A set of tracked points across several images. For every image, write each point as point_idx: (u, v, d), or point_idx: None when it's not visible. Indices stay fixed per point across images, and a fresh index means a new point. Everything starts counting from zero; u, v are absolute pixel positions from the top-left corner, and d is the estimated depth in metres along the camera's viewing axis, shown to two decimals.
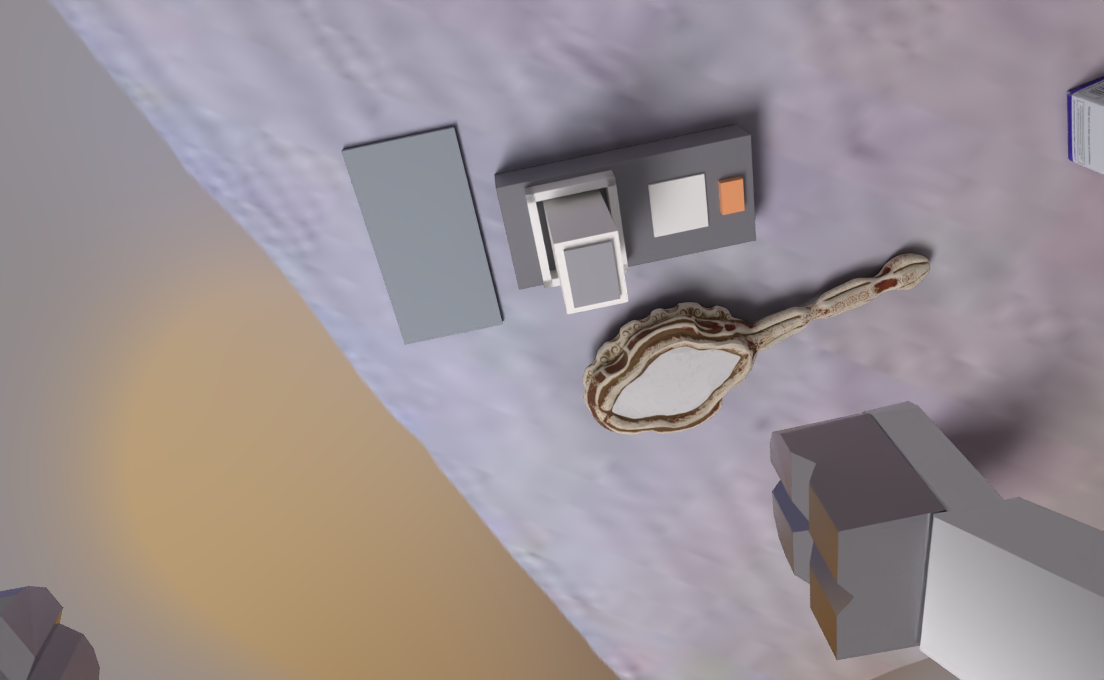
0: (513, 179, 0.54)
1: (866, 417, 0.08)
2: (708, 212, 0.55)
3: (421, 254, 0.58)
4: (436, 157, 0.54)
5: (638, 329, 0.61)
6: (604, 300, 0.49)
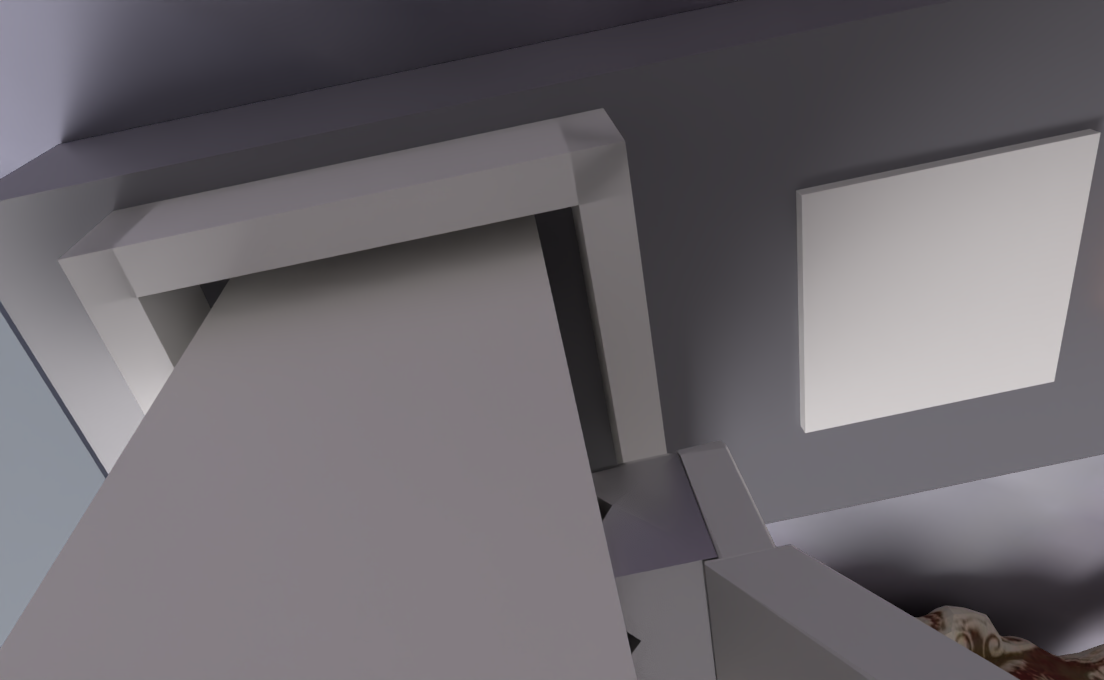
0: (85, 164, 0.10)
1: (672, 456, 0.08)
2: (1062, 323, 0.12)
3: None
4: None
5: None
6: None
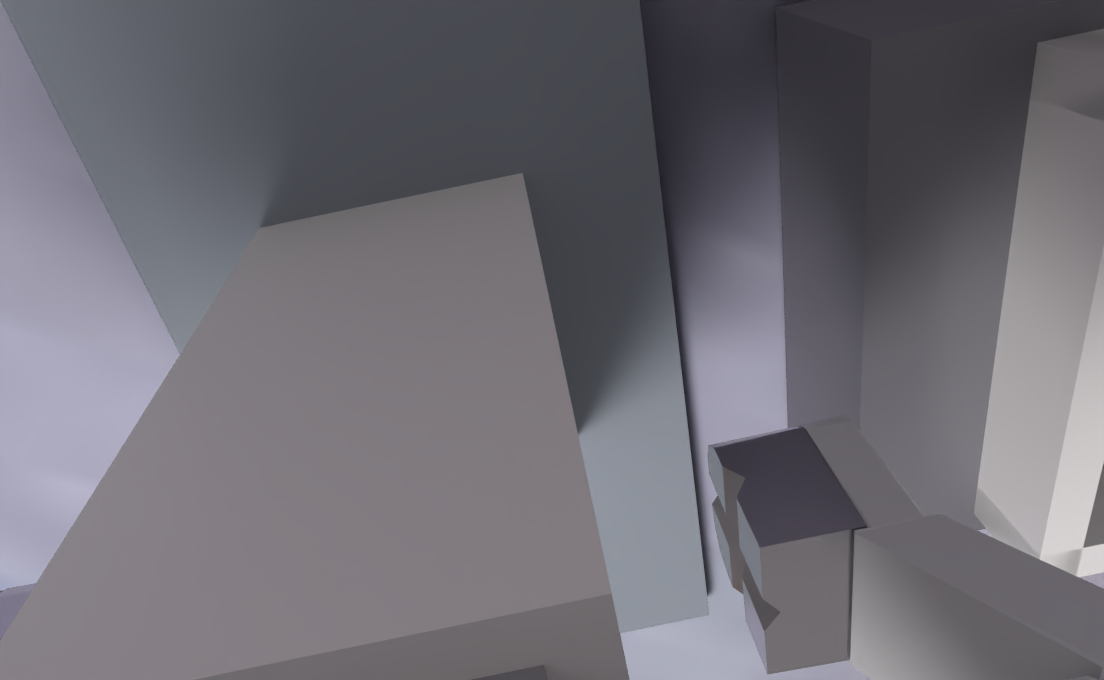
0: (935, 4, 0.09)
1: (798, 430, 0.08)
2: None
3: None
4: None
5: None
6: None
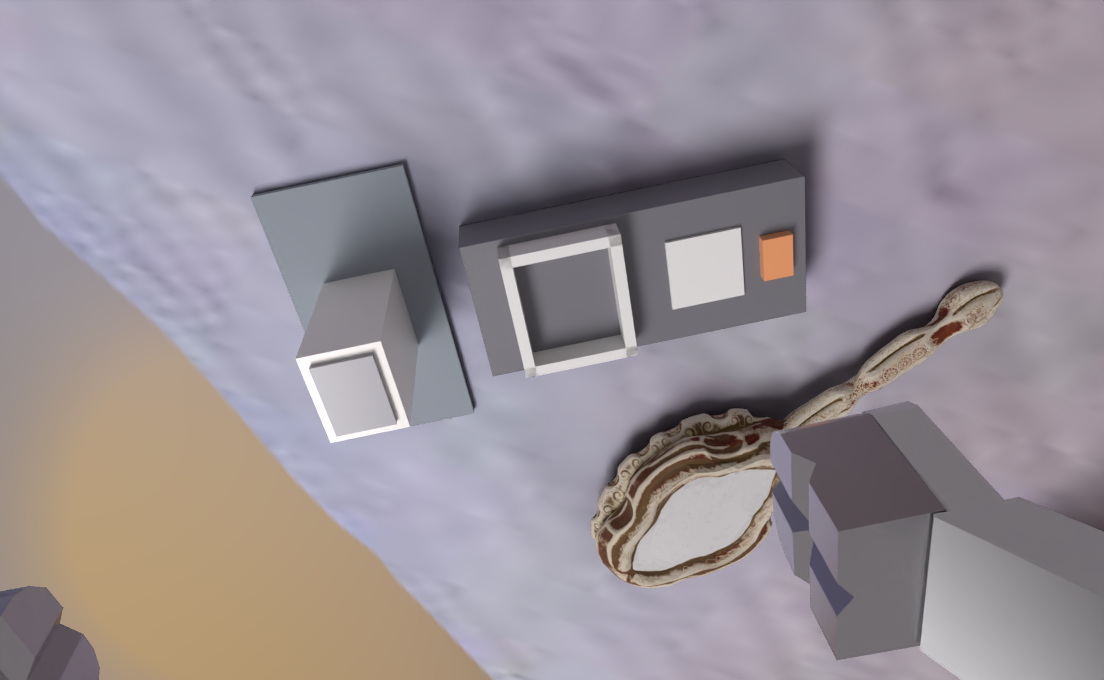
0: (483, 235, 0.40)
1: (865, 417, 0.08)
2: (744, 277, 0.42)
3: None
4: (379, 204, 0.40)
5: (639, 465, 0.48)
6: (375, 426, 0.37)
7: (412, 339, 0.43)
